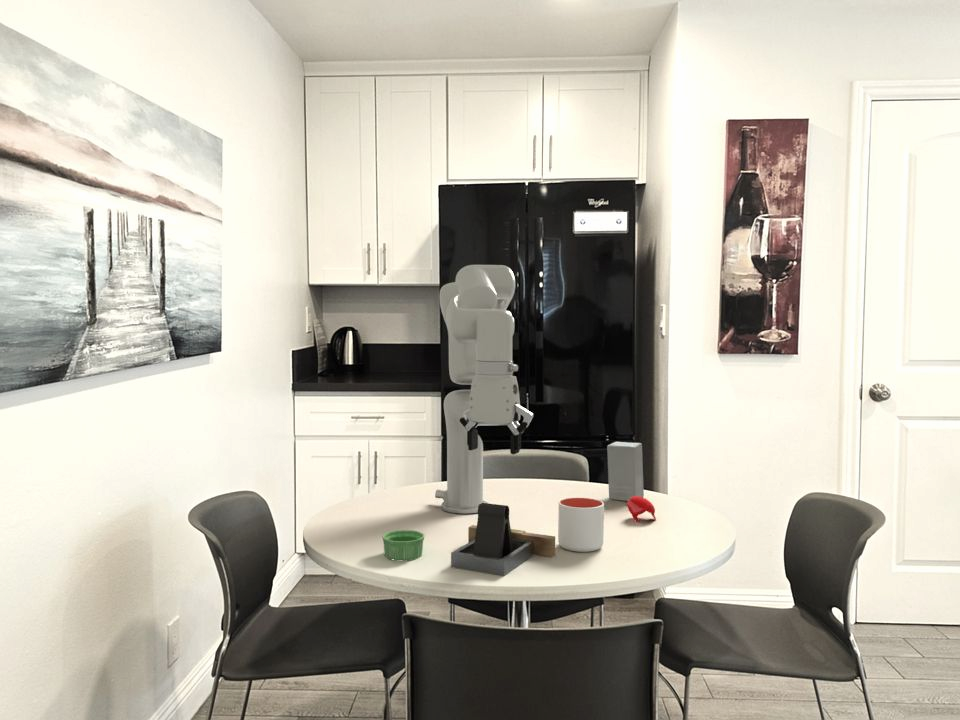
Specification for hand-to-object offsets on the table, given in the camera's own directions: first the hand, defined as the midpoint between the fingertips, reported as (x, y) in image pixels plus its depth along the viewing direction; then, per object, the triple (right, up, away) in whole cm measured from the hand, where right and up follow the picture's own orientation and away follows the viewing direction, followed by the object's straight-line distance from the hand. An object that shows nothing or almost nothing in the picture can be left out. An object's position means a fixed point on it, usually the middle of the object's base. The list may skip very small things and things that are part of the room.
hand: (493, 451), depth 165 cm
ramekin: (-19, -23, +5) cm, 31 cm away
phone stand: (0, -23, +1) cm, 24 cm away
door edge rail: (+4, -23, +9) cm, 25 cm away
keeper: (0, -23, +1) cm, 23 cm away
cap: (+38, -22, +35) cm, 56 cm away
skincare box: (+38, -20, +57) cm, 71 cm away
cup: (+20, -23, +11) cm, 32 cm away
